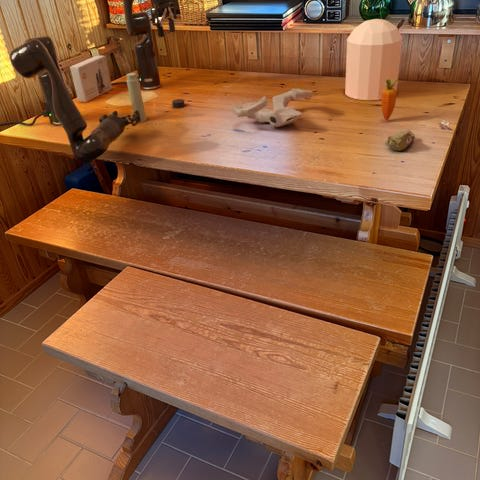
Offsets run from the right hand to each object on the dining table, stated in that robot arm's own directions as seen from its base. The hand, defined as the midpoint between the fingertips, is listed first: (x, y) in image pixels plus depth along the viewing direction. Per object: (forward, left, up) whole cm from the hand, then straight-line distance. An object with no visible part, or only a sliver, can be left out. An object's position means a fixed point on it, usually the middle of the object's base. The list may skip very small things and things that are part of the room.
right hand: (167, 34), depth 182 cm
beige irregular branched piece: (+52, -1, -29) cm, 59 cm away
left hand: (+1, -29, -22) cm, 37 cm away
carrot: (+85, +17, -29) cm, 92 cm away
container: (+68, +45, -29) cm, 86 cm away
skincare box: (-50, -4, -29) cm, 58 cm away
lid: (0, 0, -27) cm, 27 cm away
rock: (+97, -1, -29) cm, 102 cm away
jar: (-3, -19, -29) cm, 35 cm away
